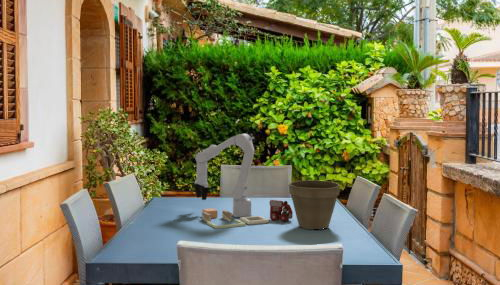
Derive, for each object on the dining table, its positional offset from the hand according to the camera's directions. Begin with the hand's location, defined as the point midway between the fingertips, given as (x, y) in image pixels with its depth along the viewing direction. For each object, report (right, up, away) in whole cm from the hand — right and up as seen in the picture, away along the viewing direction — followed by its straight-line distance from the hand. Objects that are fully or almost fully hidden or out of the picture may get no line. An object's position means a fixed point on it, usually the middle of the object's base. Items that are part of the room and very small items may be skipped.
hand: (201, 198), depth 304 cm
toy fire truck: (+43, -10, -14) cm, 46 cm away
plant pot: (+58, -11, -29) cm, 66 cm away
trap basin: (+29, -10, -20) cm, 37 cm away
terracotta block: (+5, -9, -10) cm, 15 cm away
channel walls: (+10, -9, -18) cm, 22 cm away
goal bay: (+15, -10, -28) cm, 33 cm away
